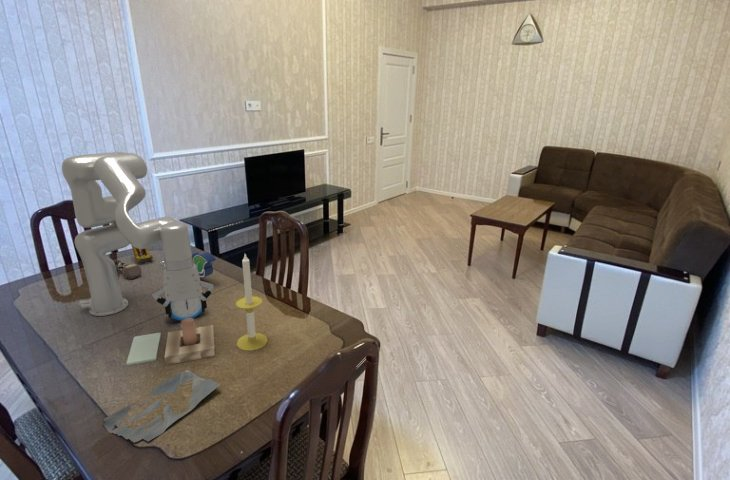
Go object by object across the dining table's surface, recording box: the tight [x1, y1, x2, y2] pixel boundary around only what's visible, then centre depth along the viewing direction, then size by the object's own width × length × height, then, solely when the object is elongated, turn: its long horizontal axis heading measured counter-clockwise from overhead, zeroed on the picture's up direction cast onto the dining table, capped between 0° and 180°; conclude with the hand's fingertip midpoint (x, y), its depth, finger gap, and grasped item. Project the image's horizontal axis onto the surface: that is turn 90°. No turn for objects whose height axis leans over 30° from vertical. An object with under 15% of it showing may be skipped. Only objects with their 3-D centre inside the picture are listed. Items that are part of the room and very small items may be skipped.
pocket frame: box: [164, 324, 216, 366], centre depth 127 cm, size 14×14×3 cm
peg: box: [180, 318, 199, 346], centre depth 126 cm, size 4×4×10 cm
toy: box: [114, 260, 142, 280], centre depth 177 cm, size 7×8×15 cm
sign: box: [191, 250, 217, 279], centre depth 174 cm, size 35×4×14 cm, turn 55°
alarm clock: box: [163, 296, 203, 323], centre depth 142 cm, size 13×6×15 cm, turn 128°
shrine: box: [130, 244, 154, 262], centre depth 189 cm, size 12×8×15 cm
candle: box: [235, 253, 269, 352], centre depth 126 cm, size 10×10×32 cm
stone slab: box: [102, 369, 221, 443], centre depth 103 cm, size 24×16×2 cm, turn 148°
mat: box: [125, 332, 162, 367], centre depth 126 cm, size 8×15×1 cm, turn 21°
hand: (187, 313), depth 123 cm, fingers open, 9 cm apart
